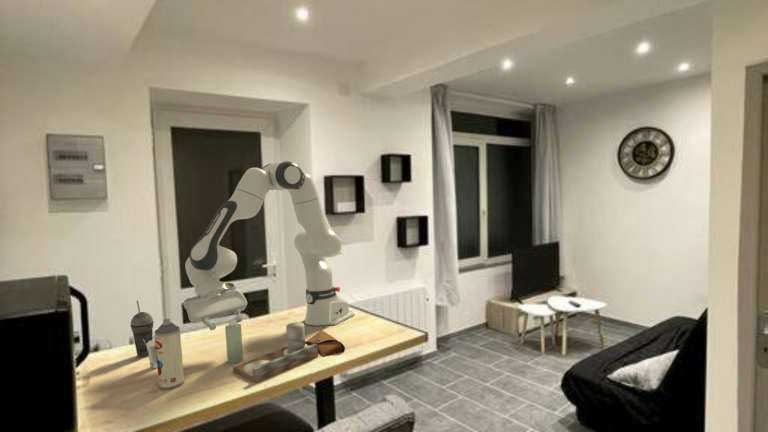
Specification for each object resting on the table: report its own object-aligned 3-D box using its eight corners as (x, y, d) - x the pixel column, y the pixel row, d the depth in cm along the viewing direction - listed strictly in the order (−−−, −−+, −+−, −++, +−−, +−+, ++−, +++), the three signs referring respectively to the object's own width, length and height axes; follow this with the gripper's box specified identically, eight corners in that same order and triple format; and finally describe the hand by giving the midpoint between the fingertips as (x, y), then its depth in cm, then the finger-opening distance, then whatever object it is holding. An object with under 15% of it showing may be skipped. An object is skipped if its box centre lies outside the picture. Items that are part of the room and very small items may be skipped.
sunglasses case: (302, 341, 159) (310, 324, 160) (318, 347, 162) (325, 330, 164) (323, 357, 144) (331, 338, 145) (339, 363, 147) (347, 344, 149)
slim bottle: (238, 356, 147) (235, 317, 146) (246, 359, 144) (243, 319, 143) (224, 361, 144) (221, 320, 143) (232, 365, 140) (229, 323, 139)
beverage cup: (146, 359, 148) (141, 303, 146) (128, 359, 149) (123, 303, 148) (161, 351, 155) (156, 297, 153) (143, 350, 156) (139, 297, 155)
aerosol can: (157, 383, 129) (151, 319, 127) (181, 377, 133) (176, 314, 131) (160, 392, 123) (155, 324, 122) (186, 384, 127) (181, 319, 126)
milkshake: (146, 366, 142) (143, 337, 142) (164, 362, 145) (161, 334, 144) (144, 371, 138) (142, 341, 138) (163, 367, 140) (160, 338, 140)
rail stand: (295, 347, 154) (294, 318, 153) (319, 355, 145) (317, 325, 144) (233, 371, 135) (231, 338, 134) (256, 382, 127) (254, 347, 126)
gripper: (183, 294, 142) (199, 328, 136) (239, 282, 157) (255, 312, 152) (178, 305, 145) (194, 339, 139) (234, 292, 161) (249, 322, 155)
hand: (226, 325), depth 146 cm, fingers open, 8 cm apart
